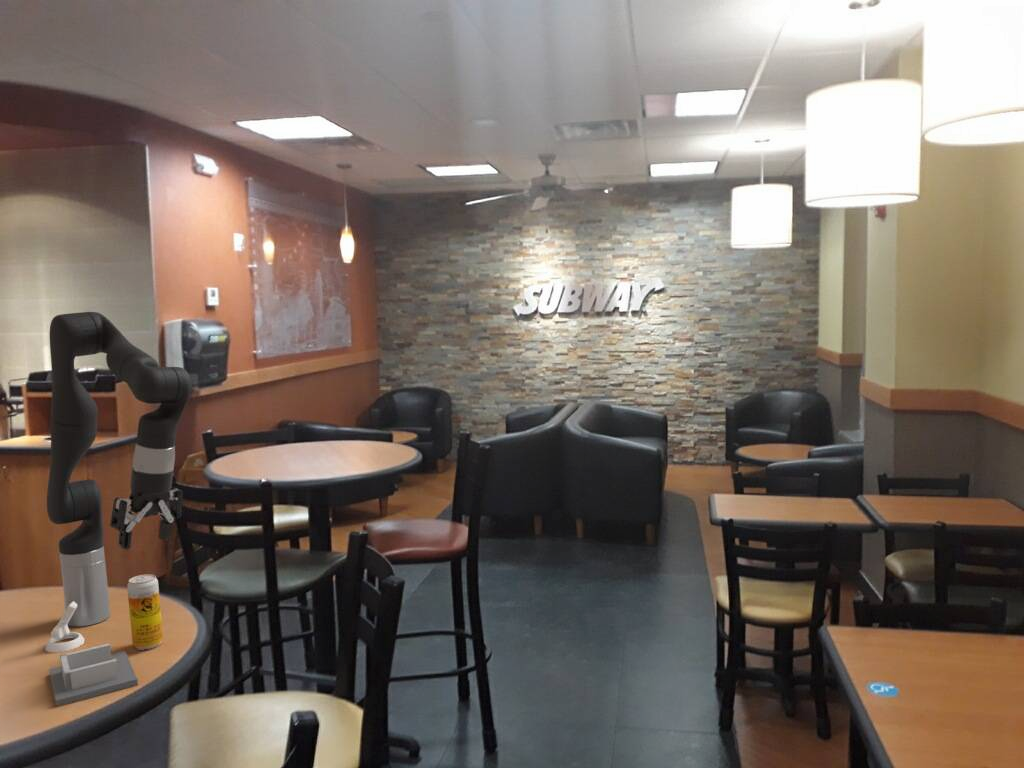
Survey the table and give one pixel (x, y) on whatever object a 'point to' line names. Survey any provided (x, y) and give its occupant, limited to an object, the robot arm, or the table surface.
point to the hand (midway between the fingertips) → (144, 543)
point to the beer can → (145, 611)
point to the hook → (64, 633)
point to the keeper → (91, 674)
